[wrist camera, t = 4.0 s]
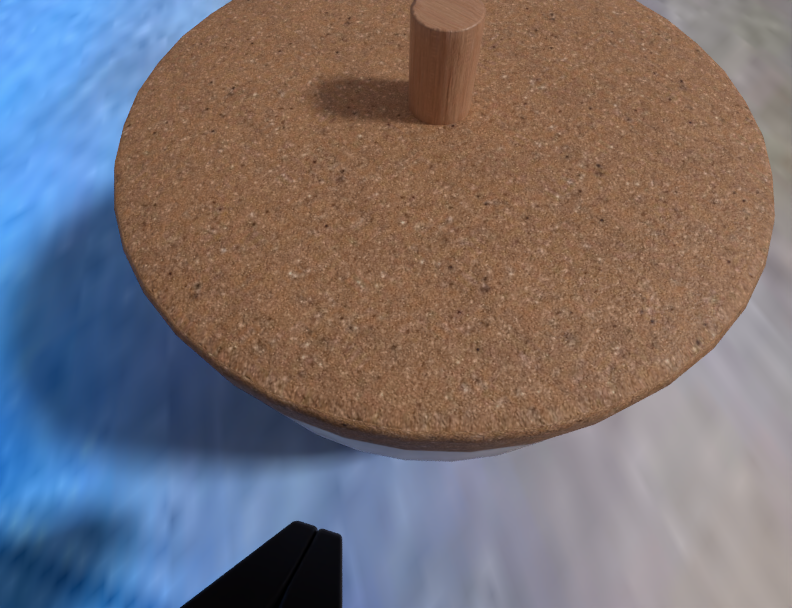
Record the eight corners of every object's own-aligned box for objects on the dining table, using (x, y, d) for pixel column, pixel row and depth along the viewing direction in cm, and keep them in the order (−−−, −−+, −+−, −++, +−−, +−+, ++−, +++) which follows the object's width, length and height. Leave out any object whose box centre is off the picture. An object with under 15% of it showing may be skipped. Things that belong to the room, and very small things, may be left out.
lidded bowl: (441, 589, 13) (582, 795, 3) (184, 323, 17) (-126, 27, 7) (650, 302, 17) (998, -10, 7) (406, 143, 21) (412, -200, 11)
